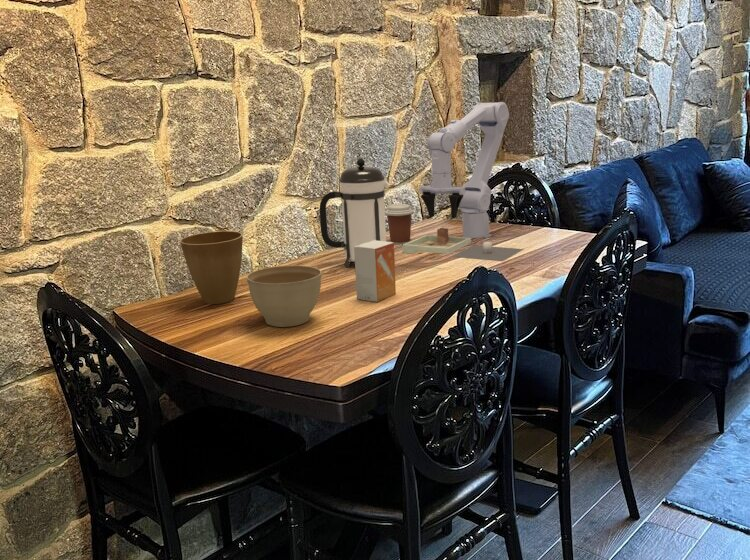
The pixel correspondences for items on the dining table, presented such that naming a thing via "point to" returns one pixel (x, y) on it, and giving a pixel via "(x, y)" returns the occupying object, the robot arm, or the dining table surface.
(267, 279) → the planter bowl
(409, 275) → the dining table surface
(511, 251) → the stake board
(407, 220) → the coffee cup
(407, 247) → the sage tray
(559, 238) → the dining table surface
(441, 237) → the tan square frame
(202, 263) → the plant pot
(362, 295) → the small box
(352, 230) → the coffee press
